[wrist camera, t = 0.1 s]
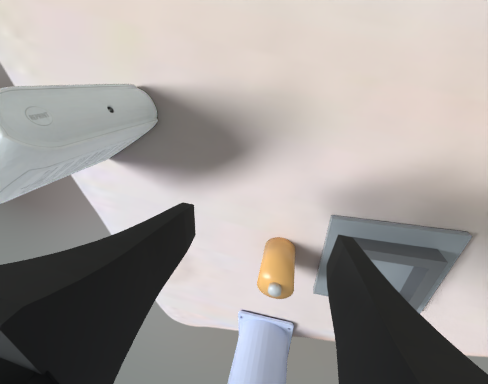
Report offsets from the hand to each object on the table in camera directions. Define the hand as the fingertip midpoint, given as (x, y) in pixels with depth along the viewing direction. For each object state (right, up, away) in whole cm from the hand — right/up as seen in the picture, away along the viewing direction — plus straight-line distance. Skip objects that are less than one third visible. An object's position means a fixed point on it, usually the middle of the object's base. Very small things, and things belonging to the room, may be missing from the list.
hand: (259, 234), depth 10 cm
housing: (+13, -6, +11) cm, 18 cm away
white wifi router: (-13, +9, +11) cm, 19 cm away
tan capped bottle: (+3, -4, +13) cm, 14 cm away
